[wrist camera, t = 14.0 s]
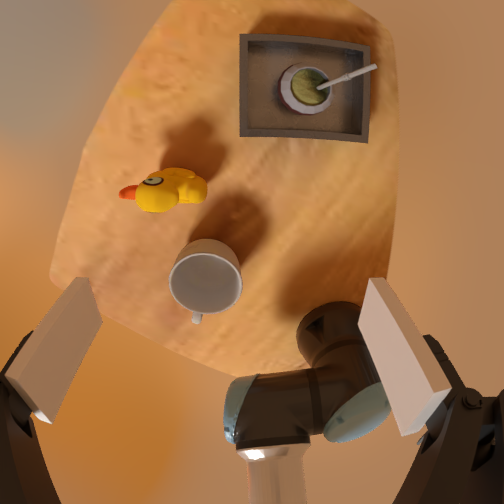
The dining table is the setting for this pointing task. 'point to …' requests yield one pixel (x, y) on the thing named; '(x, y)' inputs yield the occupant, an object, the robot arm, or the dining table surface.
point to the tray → (268, 101)
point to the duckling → (167, 190)
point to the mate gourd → (311, 87)
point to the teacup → (206, 278)
